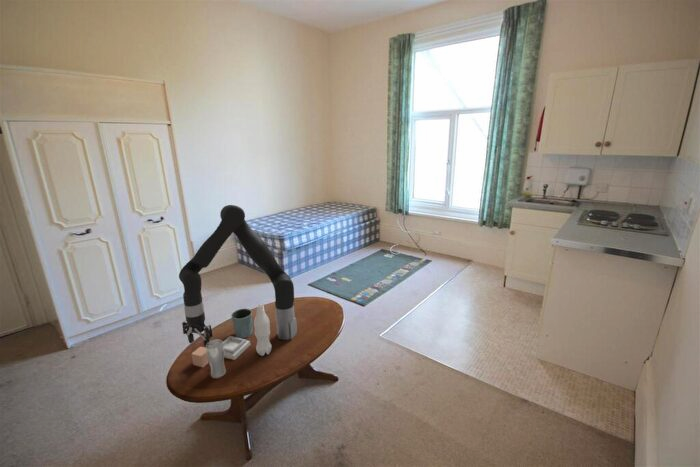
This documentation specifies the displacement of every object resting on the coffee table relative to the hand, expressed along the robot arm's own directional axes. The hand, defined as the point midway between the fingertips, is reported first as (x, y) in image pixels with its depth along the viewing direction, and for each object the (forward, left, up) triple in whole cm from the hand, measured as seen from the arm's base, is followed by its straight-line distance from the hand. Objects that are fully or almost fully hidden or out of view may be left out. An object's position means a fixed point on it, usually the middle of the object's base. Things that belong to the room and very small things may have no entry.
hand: (199, 344), depth 143 cm
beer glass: (-12, +4, -10) cm, 16 cm away
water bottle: (-23, -15, -10) cm, 29 cm away
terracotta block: (0, 0, -10) cm, 10 cm away
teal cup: (-4, -25, -10) cm, 27 cm away
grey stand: (-7, -12, -10) cm, 17 cm away
